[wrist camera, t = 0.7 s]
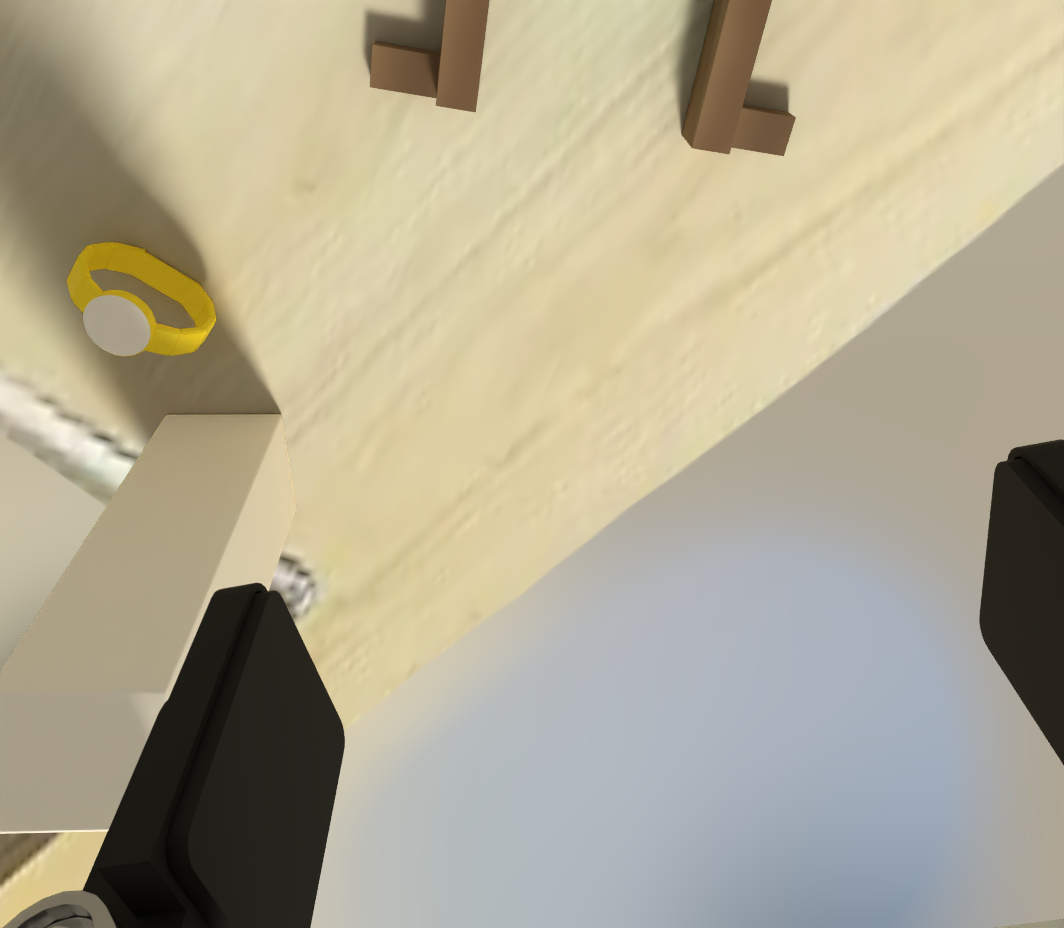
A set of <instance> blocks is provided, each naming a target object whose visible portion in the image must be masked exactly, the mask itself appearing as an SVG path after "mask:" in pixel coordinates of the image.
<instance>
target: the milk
mask: <svg viewBox="0 0 1064 928" xmlns="http://www.w3.org/2000/svg"><path fill="white" fill-rule="evenodd" d="M295 510H296V500H295V494H294V488H293V482H292V476H291V470H290V464H289V458H288V451H287V445H286V439H285V433H284V427H283V421H282V416H281V415H280V414H211V415H166V416H165V417H164V418H163V420H162V422H161V423H160V425H159V426H158V428H157V429H156V431H155V432H154V434H153V436H152V437H151V439H150V440H149V442H148V443H147V445H146V446H145V448H144V449H143V451H142V453H141V454H140V456H139V457H138V459H137V460H136V462H135V463H134V465H133V466H132V468H131V470H130V471H129V473H128V474H127V476H126V477H125V479H124V480H123V482H122V484H121V485H120V487H119V488H118V490H117V491H116V493H115V494H114V496H113V497H112V499H111V501H110V502H109V504H108V505H107V507H106V508H105V510H104V511H103V513H102V515H101V516H100V518H99V519H98V521H97V522H96V524H95V525H94V527H93V528H92V530H91V532H90V533H89V535H88V536H87V538H86V539H85V541H84V543H83V544H82V546H81V547H80V549H79V550H78V552H77V553H76V555H75V557H74V558H73V560H72V561H71V563H70V564H69V566H68V567H67V569H66V570H65V572H64V573H63V575H62V577H61V578H60V580H59V581H58V583H57V584H56V586H55V587H54V589H53V590H52V592H51V594H50V595H49V597H48V598H47V600H46V601H45V603H44V605H43V606H42V608H41V609H40V611H39V612H38V614H37V615H36V617H35V618H34V620H33V622H32V623H31V625H30V626H29V628H28V629H27V631H26V632H25V634H24V635H23V637H22V638H21V640H20V642H19V643H18V645H17V646H16V648H15V649H14V651H13V652H12V654H11V656H10V657H9V659H8V660H7V662H6V663H5V665H4V666H3V668H2V670H1V671H0V833H46V832H95V831H108V830H109V828H110V825H111V823H112V821H113V818H114V816H115V814H116V811H117V809H118V807H119V804H120V802H121V800H122V797H123V795H124V793H125V790H126V788H127V786H128V783H129V781H130V779H131V776H132V774H133V772H134V769H135V767H136V765H137V762H138V760H139V758H140V755H141V753H142V751H143V748H144V746H145V744H146V741H147V739H148V737H149V734H150V732H151V730H152V727H153V725H154V723H155V720H156V718H157V716H158V713H159V711H160V710H161V708H162V706H163V705H164V703H165V702H166V701H167V700H168V699H169V696H170V694H171V692H172V689H173V687H174V685H175V682H176V680H177V677H178V675H179V673H180V670H181V668H182V666H183V663H184V661H185V659H186V656H187V654H188V651H189V649H190V647H191V644H192V642H193V640H194V637H195V635H196V633H197V630H198V628H199V626H200V623H201V621H202V618H203V616H204V614H205V611H206V609H207V607H208V604H209V602H210V600H211V597H212V596H213V594H214V592H215V591H217V590H219V589H223V588H229V587H235V586H240V585H246V584H251V583H261V584H263V585H264V586H265V587H266V589H267V590H268V591H269V588H270V585H271V582H272V579H273V576H274V573H275V570H276V567H277V564H278V561H279V558H280V555H281V552H282V549H283V546H284V543H285V540H286V537H287V534H288V531H289V528H290V525H291V522H292V519H293V516H294V513H295Z"/></svg>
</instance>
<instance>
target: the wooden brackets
mask: <svg viewBox="0 0 1064 928" xmlns="http://www.w3.org/2000/svg"><path fill="white" fill-rule="evenodd" d="M771 2H772V0H714V4H713V8H712V12H711V16H710V20H709V24H708V28H707V32H706V36H705V41H704V45H703V49H702V53H701V57H700V61H699V65H698V69H697V73H696V77H695V81H694V85H693V90H692V94H691V98H690V102H689V106H688V110H687V114H686V118H685V122H684V126H683V130H682V136H683V137H684V138H685V140H686V141H687V142H688V143H689V145H690V146H691V147H692V148H694V149H700V150H706V151H712V152H718V153H724V154H730V150H731V147H732V148H738V149H744V150H750V151H756V152H762V153H768V154H774V155H780V156H784V153H785V150H786V147H787V144H788V141H789V137H790V134H791V131H792V128H793V124H794V121H795V118H796V117H794V116H793V115H791V114H790V113H788V112H782V111H776V110H770V109H765V108H759V107H753V106H747V105H743V103H744V99H745V96H746V92H747V89H748V85H749V81H750V78H751V74H752V71H753V67H754V63H755V60H756V56H757V52H758V49H759V45H760V42H761V38H762V34H763V31H764V27H765V24H766V20H767V16H768V13H769V9H770V5H771ZM488 7H489V0H446V7H445V17H444V27H443V38H442V48H441V53H440V52H435V51H429V50H423V49H417V48H412V47H406V46H400V45H394V44H388V43H383V42H377V41H375V42H374V43H373V44H372V59H371V76H370V87H372V88H378V89H384V90H390V91H396V92H402V93H408V94H414V95H420V96H426V97H432V98H437V99H436V106H441V107H447V108H453V109H459V110H465V111H471V112H476V105H477V97H478V89H479V81H480V72H481V64H482V56H483V48H484V40H485V31H486V23H487V15H488Z"/></svg>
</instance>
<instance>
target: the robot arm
mask: <svg viewBox="0 0 1064 928" xmlns="http://www.w3.org/2000/svg"><path fill="white" fill-rule="evenodd" d="M980 628H981V633H982V636H983V639H984V641H985V643H986V645H987V647H988V649H989V650H990V652H991V654H992V655H993V656H994V658H995V660H996V661H997V663H998V664H999V666H1000V667H1001V669H1002V671H1003V672H1004V674H1005V675H1006V677H1007V678H1008V680H1009V681H1010V683H1011V684H1012V686H1013V687H1014V689H1015V691H1016V692H1017V694H1018V695H1019V697H1020V698H1021V700H1022V701H1023V703H1024V704H1025V706H1026V708H1027V709H1028V711H1029V712H1030V714H1031V715H1032V717H1033V718H1034V720H1035V721H1036V723H1037V724H1038V726H1039V727H1040V729H1041V731H1042V732H1043V734H1044V735H1045V737H1046V739H1047V740H1048V742H1049V743H1050V745H1051V746H1052V748H1053V749H1054V751H1055V752H1056V754H1057V756H1058V757H1059V758H1060V760H1061V762H1062V763H1063V765H1064V440H1055V441H1049V442H1044V443H1039V444H1033V445H1027V446H1022V447H1016V448H1014V449H1012V450H1011V452H1010V453H1009V455H1008V460H1007V461H1003V462H1000V463H998V464H997V466H996V469H995V473H994V483H993V492H992V501H991V511H990V521H989V530H988V540H987V550H986V559H985V569H984V578H983V588H982V598H981V608H980ZM344 744H345V737H344V730H343V725H342V722H341V720H340V718H339V716H338V713H337V711H336V709H335V707H334V705H333V703H332V701H331V699H330V697H329V695H328V692H327V690H326V688H325V686H324V684H323V682H322V680H321V678H320V676H319V674H318V672H317V669H316V667H315V665H314V663H313V661H312V659H311V657H310V655H309V653H308V651H307V649H306V646H305V644H304V642H303V640H302V638H301V636H300V634H299V632H298V630H297V628H296V625H295V623H294V621H293V619H292V617H291V615H290V613H289V611H288V609H287V607H286V605H285V602H284V600H283V598H282V597H281V595H280V593H278V592H277V591H268V590H267V589H266V587H265V586H264V585H263V584H261V583H251V584H246V585H240V586H235V587H229V588H223V589H219V590H217V591H215V592H214V594H213V596H212V597H211V600H210V602H209V604H208V607H207V609H206V611H205V614H204V616H203V618H202V621H201V623H200V626H199V628H198V630H197V633H196V635H195V637H194V640H193V642H192V644H191V647H190V649H189V651H188V654H187V656H186V659H185V661H184V663H183V666H182V668H181V670H180V673H179V675H178V677H177V680H176V682H175V685H174V687H173V689H172V692H171V694H170V696H169V699H168V700H167V701H166V702H165V703H164V705H163V706H162V708H161V710H160V711H159V713H158V716H157V718H156V720H155V723H154V725H153V727H152V730H151V732H150V734H149V737H148V739H147V741H146V744H145V746H144V748H143V751H142V753H141V755H140V758H139V760H138V762H137V765H136V767H135V769H134V772H133V774H132V776H131V779H130V781H129V783H128V786H127V788H126V790H125V793H124V795H123V797H122V800H121V802H120V804H119V807H118V809H117V811H116V814H115V816H114V818H113V821H112V823H111V825H110V828H109V830H108V832H107V835H106V837H105V839H104V842H103V844H102V846H101V849H100V851H99V853H98V856H97V858H96V860H95V863H94V865H93V867H92V870H91V872H90V874H89V877H88V879H87V881H86V884H85V886H84V888H83V891H82V890H81V891H65V892H61V893H58V894H55V895H52V896H50V897H47V898H44V899H42V900H40V901H38V902H37V903H35V904H33V905H32V906H30V907H28V908H27V909H25V910H23V911H22V912H20V913H19V914H18V915H17V916H16V917H15V918H13V919H12V920H11V921H10V922H9V923H8V924H6V925H5V926H4V927H3V928H310V926H311V921H312V916H313V911H314V905H315V900H316V895H317V889H318V884H319V879H320V874H321V869H322V863H323V857H324V853H325V848H326V842H327V837H328V832H329V826H330V821H331V816H332V811H333V806H334V800H335V795H336V789H337V785H338V779H339V774H340V769H341V764H342V758H343V752H344V746H345V745H344ZM997 928H1064V919H1060V920H1052V921H1044V922H1037V923H1028V924H1020V925H1013V926H1005V927H997Z"/></svg>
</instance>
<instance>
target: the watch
mask: <svg viewBox="0 0 1064 928" xmlns="http://www.w3.org/2000/svg"><path fill="white" fill-rule="evenodd" d="M145 251H146V250H145V249H143V248H142V250H141V248H138V247H134V246H130V245H125V244H121V243H117V242H113V243H112V242H106V243H98V244H90V245H88V246H86V247H85V249H84V250H83V251H82V252H81V254H80V255H79V256H78V258H77V260H76V262H75V264H74V266H73V268H72V270H71V272H70V274H69V276H68V278H67V285H68V288H69V292H70V296H71V299H72V301H74V304H75V305H76V306H77V307H78V308H79V309H80V310H81V312H82V313H83V322H84V327H85V329H86V332H87V334H88V336H89V337H90V338H91V340H92V341H93V342H94V343H95V344H96V345H97V346H99V347H100V348H101V349H103V350H104V351H106V352H108V353H111V354H113V355H117V356H123V357H127V356H134V355H137V354H139V353H141V352H143V351H149V352H153V353H158V354H162V355H169V356H172V355H180V354H187V353H192V352H195V351H196V350H197V349H198V348H199V346H200V345H201V344H202V343H203V342H204V341H205V339H206V337H207V336H208V334H209V332H210V331H211V329H212V327H213V326H214V324H215V322H216V314H215V309H214V304H213V302H212V300H211V299H210V297H209V296H208V295H207V293H206V292H205V291H204V290H203V288H202V287H201V286H200V285H199V283H198V282H195V281H194V280H192V279H190V278H189V277H187V276H185V275H184V274H182V273H180V272H179V271H177V270H175V269H174V268H172V267H170V266H169V265H167V264H165V263H164V262H162V261H160V260H159V259H157V258H155V257H154V256H152V255H150V254H149V253H147V252H145ZM99 269H107V270H112V271H117V272H122V273H127V274H131V275H132V276H134V277H136V278H138V279H139V280H141V281H143V282H144V283H146V284H148V285H150V286H151V287H153V288H155V289H156V290H158V291H160V292H161V293H163V294H165V295H167V296H168V297H170V298H172V299H173V300H175V301H177V302H179V303H180V304H182V306H183V307H184V308H185V309H186V311H187V312H188V313H189V315H190V316H191V317H192V319H193V320H194V321H195V328H185V329H178V328H174V327H170V326H166V325H162V324H158V323H156V320H155V318H154V315H153V313H152V311H151V310H150V308H149V307H148V306H147V304H146V303H145V302H144V301H142V300H141V299H140V298H138V297H137V296H136V295H133V294H131V293H129V292H127V291H122V290H107V291H103V290H102V289H101V288H100V287H99V286H98V285H97V284H96V283H95V282H94V281H93V280H92V278H91V275H90V271H93V270H99Z"/></svg>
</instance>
